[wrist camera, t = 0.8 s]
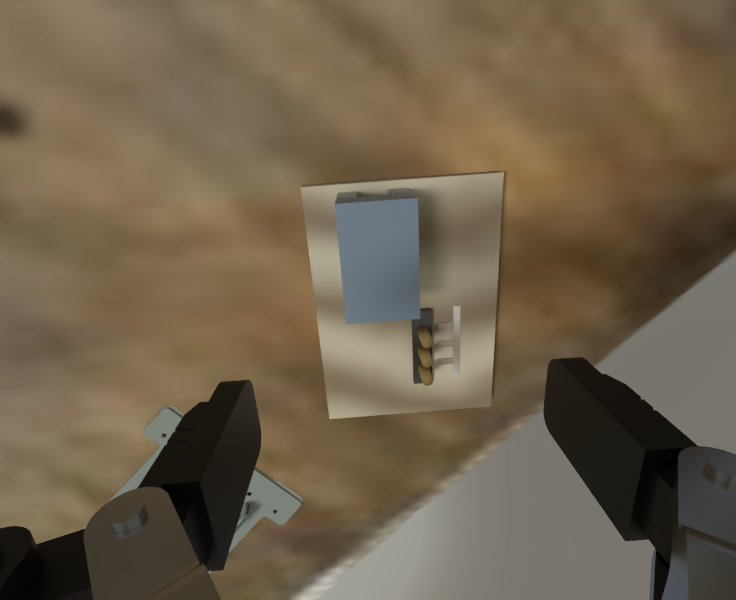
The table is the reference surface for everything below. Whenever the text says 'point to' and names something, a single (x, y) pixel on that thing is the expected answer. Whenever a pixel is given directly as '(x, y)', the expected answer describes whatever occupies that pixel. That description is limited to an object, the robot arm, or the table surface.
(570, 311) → the table surface
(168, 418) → the metal bracket
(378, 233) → the block
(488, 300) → the board
